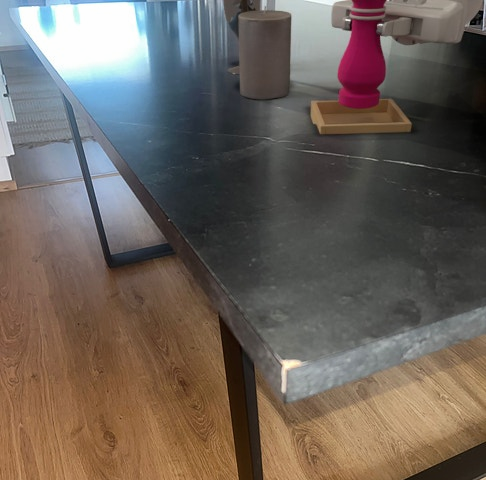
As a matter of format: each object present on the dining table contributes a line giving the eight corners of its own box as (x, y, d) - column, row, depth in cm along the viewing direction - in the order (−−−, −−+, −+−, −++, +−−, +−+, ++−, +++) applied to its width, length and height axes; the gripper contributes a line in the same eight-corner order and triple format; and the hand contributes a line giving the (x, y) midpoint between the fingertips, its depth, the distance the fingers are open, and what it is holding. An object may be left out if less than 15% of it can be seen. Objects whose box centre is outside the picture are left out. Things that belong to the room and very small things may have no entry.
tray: (389, 113, 90) (391, 98, 89) (409, 140, 80) (412, 123, 78) (310, 116, 90) (311, 100, 89) (319, 143, 80) (320, 126, 78)
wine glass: (266, 67, 118) (267, -9, 109) (252, 76, 112) (251, -4, 104) (235, 64, 121) (232, -10, 112) (219, 72, 115) (215, -5, 106)
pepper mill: (325, 102, 83) (335, -47, 71) (355, 93, 87) (369, -51, 75) (361, 113, 79) (378, -44, 67) (391, 102, 82) (412, -49, 71)
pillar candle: (250, 84, 107) (248, 1, 99) (296, 88, 104) (299, 2, 96) (232, 97, 100) (228, 9, 91) (281, 102, 97) (282, 11, 88)
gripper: (362, -14, 88) (308, -4, 80) (480, -4, 76) (430, 9, 68) (358, 27, 91) (307, 41, 84) (470, 43, 79) (421, 61, 72)
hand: (363, 27), depth 76 cm, fingers closed on pepper mill, 5 cm apart
